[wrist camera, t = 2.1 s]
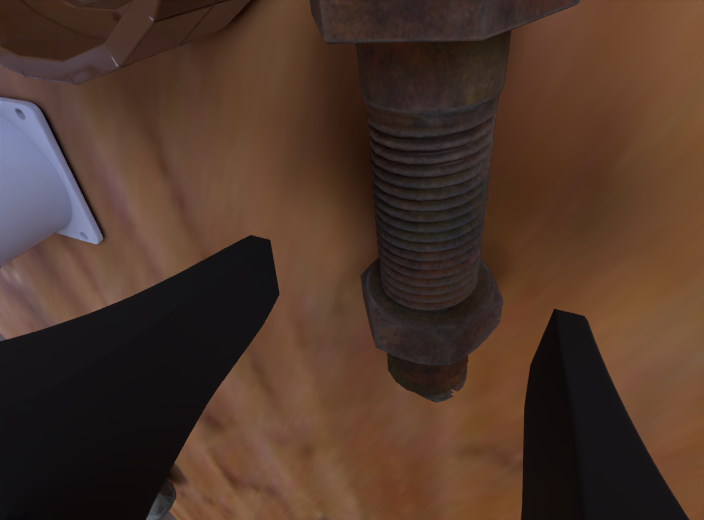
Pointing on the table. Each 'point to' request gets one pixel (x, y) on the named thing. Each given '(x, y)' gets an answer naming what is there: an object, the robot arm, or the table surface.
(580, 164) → the table surface
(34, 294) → the table surface
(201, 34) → the bowl
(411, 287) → the bolt
